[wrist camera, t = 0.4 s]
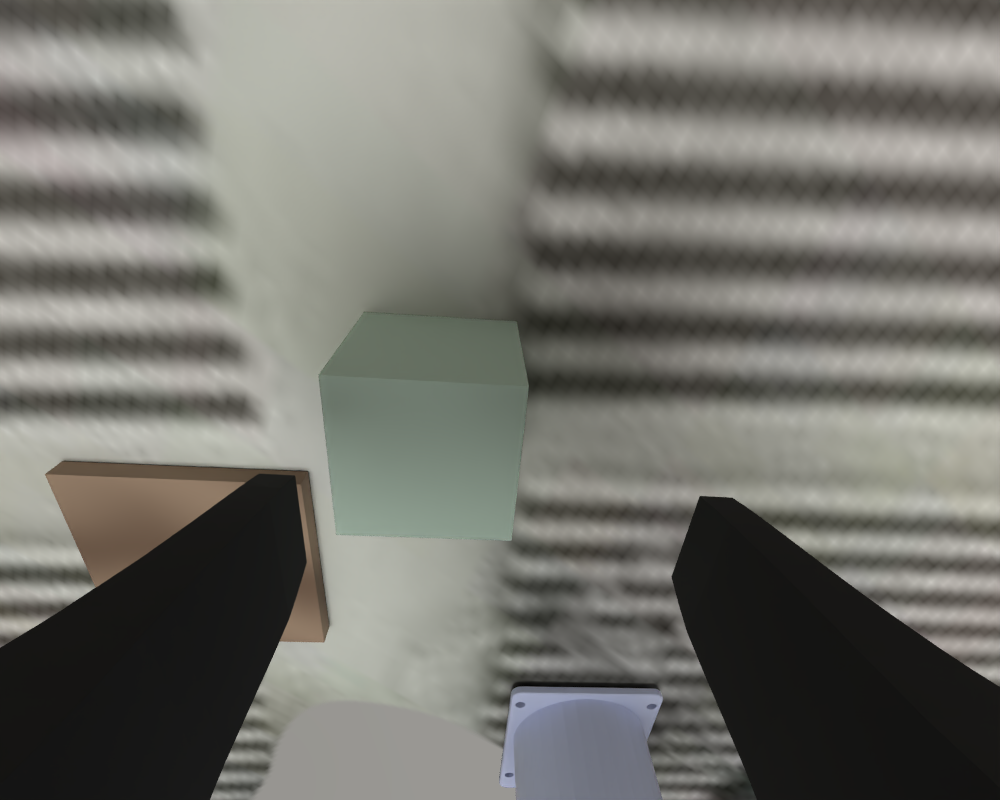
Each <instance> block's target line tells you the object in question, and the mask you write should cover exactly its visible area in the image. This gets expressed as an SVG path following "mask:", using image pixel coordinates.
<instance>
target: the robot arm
mask: <svg viewBox="0 0 1000 800" xmlns="http://www.w3.org/2000/svg"><path fill="white" fill-rule="evenodd" d="M306 564H307V558H306V551H305V544H304V536H303V529H302V522H301V514H300V507H299V499H298V492H297V485H296V477H295V475H279V474H260V473H259V474H258V475H256V476H255V477H253V478H252V479H250V480H249V481H247V482H246V483H244V484H243V485H241V486H240V487H239V488H237V489H236V490H235V491H233V492H232V493H230V494H229V495H228V496H226V497H225V498H224V499H222V500H221V501H219V502H218V503H217V504H215V505H214V506H213V507H211V508H210V509H208V510H207V511H206V512H204V513H203V514H202V515H200V516H199V517H198V518H196V519H195V520H193V521H192V522H191V523H189V524H188V525H186V526H185V527H184V528H182V529H181V530H179V531H178V532H177V533H175V534H174V535H172V536H171V537H170V538H168V539H167V540H165V541H164V542H162V543H161V544H160V545H158V546H157V547H155V548H154V549H153V550H151V551H150V552H148V553H147V554H146V555H144V556H143V557H141V558H140V559H138V560H137V561H135V562H134V563H132V564H131V565H129V566H128V567H126V568H125V569H123V570H122V571H120V572H119V573H117V574H116V575H114V576H113V577H111V578H110V579H108V580H107V581H105V582H104V583H102V584H101V585H99V586H98V587H96V588H95V589H93V590H91V591H90V592H88V593H87V594H85V595H84V596H82V597H81V598H79V599H78V600H76V601H75V602H73V603H72V604H70V605H69V606H67V607H66V608H64V609H63V610H61V611H60V612H58V613H56V614H55V615H53V616H52V617H50V618H48V619H47V620H45V621H44V622H42V623H40V624H39V625H37V626H36V627H34V628H32V629H31V630H29V631H27V632H26V633H24V634H22V635H21V636H19V637H17V638H16V639H14V640H12V641H11V642H9V643H8V644H6V645H4V646H2V647H1V648H0V800H210V798H211V795H212V793H213V790H214V788H215V786H216V783H217V781H218V778H219V776H220V773H221V771H222V769H223V766H224V764H225V761H226V759H227V757H228V755H229V753H230V750H231V748H232V746H233V744H234V741H235V739H236V737H237V735H238V733H239V730H240V728H241V726H242V724H243V721H244V719H245V717H246V715H247V713H248V710H249V708H250V706H251V704H252V702H253V699H254V697H255V695H256V693H257V690H258V688H259V686H260V684H261V682H262V679H263V677H264V675H265V673H266V671H267V668H268V666H269V664H270V662H271V659H272V657H273V655H274V653H275V650H276V648H277V646H278V644H279V641H280V639H281V637H282V635H283V632H284V630H285V628H286V625H287V623H288V621H289V618H290V615H291V612H292V609H293V606H294V603H295V600H296V597H297V594H298V591H299V587H300V584H301V581H302V577H303V574H304V571H305V567H306ZM672 580H673V584H674V588H675V591H676V595H677V599H678V603H679V606H680V610H681V613H682V616H683V620H684V623H685V626H686V630H687V633H688V635H689V638H690V640H691V642H692V645H693V647H694V650H695V652H696V655H697V657H698V659H699V662H700V664H701V667H702V669H703V671H704V674H705V676H706V679H707V681H708V683H709V686H710V688H711V690H712V693H713V695H714V697H715V700H716V702H717V704H718V707H719V709H720V711H721V714H722V716H723V718H724V721H725V723H726V725H727V728H728V730H729V732H730V735H731V737H732V739H733V742H734V744H735V747H736V749H737V751H738V754H739V756H740V758H741V761H742V763H743V765H744V768H745V770H746V773H747V775H748V778H749V780H750V783H751V786H752V788H753V791H754V793H755V796H756V798H757V800H1000V687H999V686H997V685H996V684H994V683H992V682H991V681H989V680H988V679H986V678H985V677H983V676H981V675H980V674H978V673H977V672H975V671H973V670H972V669H970V668H969V667H967V666H966V665H964V664H963V663H961V662H960V661H958V660H957V659H955V658H954V657H952V656H951V655H949V654H948V653H946V652H945V651H943V650H942V649H940V648H939V647H937V646H936V645H934V644H933V643H931V642H930V641H928V640H927V639H926V638H924V637H923V636H921V635H920V634H918V633H917V632H915V631H914V630H913V629H911V628H910V627H908V626H907V625H905V624H904V623H903V622H901V621H900V620H898V619H897V618H895V617H894V616H892V615H891V614H890V613H888V612H887V611H885V610H884V609H883V608H881V607H880V606H878V605H877V604H876V603H874V602H873V601H871V600H870V599H869V598H867V597H866V596H865V595H863V594H862V593H860V592H859V591H858V590H856V589H855V588H854V587H852V586H851V585H850V584H848V583H847V582H846V581H844V580H843V579H842V578H840V577H839V576H838V575H836V574H835V573H834V572H832V571H831V570H830V569H828V568H827V567H826V566H824V565H823V564H822V563H820V562H819V561H818V560H816V559H815V558H814V557H812V556H811V555H810V554H808V553H807V552H806V551H804V550H803V549H802V548H800V547H799V546H798V545H797V544H795V543H794V542H793V541H791V540H790V539H789V538H787V537H786V536H785V535H783V534H782V533H781V532H779V531H778V530H777V529H775V528H774V527H773V526H771V525H770V524H769V523H767V522H766V521H765V520H763V519H762V518H761V517H759V516H758V515H757V514H755V513H754V512H752V511H751V510H750V509H748V508H747V507H745V506H744V505H742V504H741V503H739V502H738V501H736V500H735V499H733V498H727V497H707V496H700V497H699V500H698V503H697V506H696V509H695V512H694V514H693V517H692V520H691V523H690V526H689V529H688V532H687V534H686V537H685V540H684V543H683V546H682V549H681V552H680V554H679V557H678V560H677V563H676V566H675V569H674V571H673V574H672ZM662 701H663V697H662V694H661V692H660V690H658V689H654V688H599V687H535V686H519V687H516V688H514V689H513V690H512V692H511V697H510V705H509V712H508V719H507V726H506V733H505V740H504V747H503V754H502V762H501V769H500V776H499V781H500V782H499V783H500V785H501V786H502V787H506V788H516V800H663V799H662V796H661V792H660V788H659V785H658V781H657V777H656V774H655V770H654V767H653V763H652V759H651V756H650V752H649V748H648V745H647V739H648V737H649V734H650V732H651V729H652V727H653V724H654V721H655V719H656V716H657V714H658V711H659V709H660V706H661V703H662Z"/></svg>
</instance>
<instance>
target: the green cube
mask: <svg viewBox="0 0 1000 800" xmlns="http://www.w3.org/2000/svg"><path fill="white" fill-rule="evenodd" d="M319 384H320V393H321V402H322V411H323V420H324V429H325V438H326V447H327V456H328V464H329V473H330V482H331V491H332V500H333V509H334V518H335V527H336V535H356V536H385V537H415V538H445V539H474V540H504V541H511V540H512V532H513V523H514V514H515V505H516V496H517V487H518V479H519V470H520V461H521V452H522V443H523V435H524V426H525V417H526V408H527V399H528V390H529V384H528V379H527V373H526V368H525V363H524V358H523V352H522V347H521V342H520V336H519V331H518V326H517V321H503V320H487V319H470V318H454V317H438V316H422V315H406V314H389V313H373V312H364V313H363V315H362V316H361V317H360V319H359V320H358V321H357V323H356V324H355V326H354V327H353V328H352V330H351V331H350V332H349V334H348V335H347V337H346V338H345V339H344V341H343V342H342V344H341V345H340V346H339V348H338V349H337V350H336V352H335V353H334V355H333V356H332V357H331V359H330V360H329V361H328V363H327V364H326V366H325V367H324V368H323V370H322V371H321V373H320V374H319Z"/></svg>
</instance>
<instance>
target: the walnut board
mask: <svg viewBox="0 0 1000 800" xmlns="http://www.w3.org/2000/svg"><path fill="white" fill-rule="evenodd" d="M259 473H260V474H279V475H295V477H296V485H297V492H298V499H299V507H300V514H301V522H302V529H303V536H304V544H305V551H306V558H307V564H306V567H305V571H304V574H303V577H302V581H301V584H300V587H299V591H298V594H297V597H296V600H295V603H294V606H293V609H292V612H291V615H290V618H289V621H288V623H287V625H286V628H285V630H284V632H283V635H282V637H281V639H280V641H284V642H325V638H326V635H327V632H328V629H329V622H328V614H327V607H326V600H325V592H324V585H323V578H322V570H321V563H320V556H319V549H318V541H317V534H316V527H315V519H314V512H313V505H312V498H311V490H310V483H309V476H308V472H305V471H281V470H257V469H233V468H209V467H185V466H161V465H137V464H113V463H89V462H65V461H62V462H61V463H59V464H58V465H57V466H55V467H54V468H53V469H51V470H50V471H49V472H47V473H46V474H45V476H46V478H47V480H48V482H49V484H50V487H51V489H52V491H53V493H54V496H55V498H56V500H57V502H58V504H59V507H60V509H61V511H62V513H63V516H64V518H65V520H66V522H67V524H68V527H69V529H70V531H71V533H72V536H73V538H74V540H75V542H76V544H77V547H78V549H79V551H80V553H81V556H82V558H83V560H84V562H85V564H86V567H87V569H88V571H89V573H90V576H91V578H92V580H93V582H94V584H95V587H98V586H99V585H101V584H102V583H104V582H105V581H107V580H108V579H110V578H111V577H113V576H114V575H116V574H117V573H119V572H120V571H122V570H123V569H125V568H126V567H128V566H129V565H131V564H132V563H134V562H135V561H137V560H138V559H140V558H141V557H143V556H144V555H146V554H147V553H148V552H150V551H151V550H153V549H154V548H155V547H157V546H158V545H160V544H161V543H162V542H164V541H165V540H167V539H168V538H170V537H171V536H172V535H174V534H175V533H177V532H178V531H179V530H181V529H182V528H184V527H185V526H186V525H188V524H189V523H191V522H192V521H193V520H195V519H196V518H198V517H199V516H200V515H202V514H203V513H204V512H206V511H207V510H208V509H210V508H211V507H213V506H214V505H215V504H217V503H218V502H219V501H221V500H222V499H224V498H225V497H226V496H228V495H229V494H230V493H232V492H233V491H235V490H236V489H237V488H239V487H240V486H241V485H243V484H244V483H246V482H247V481H249V480H250V479H252V478H253V477H255V476H256V475H258V474H259Z"/></svg>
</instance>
